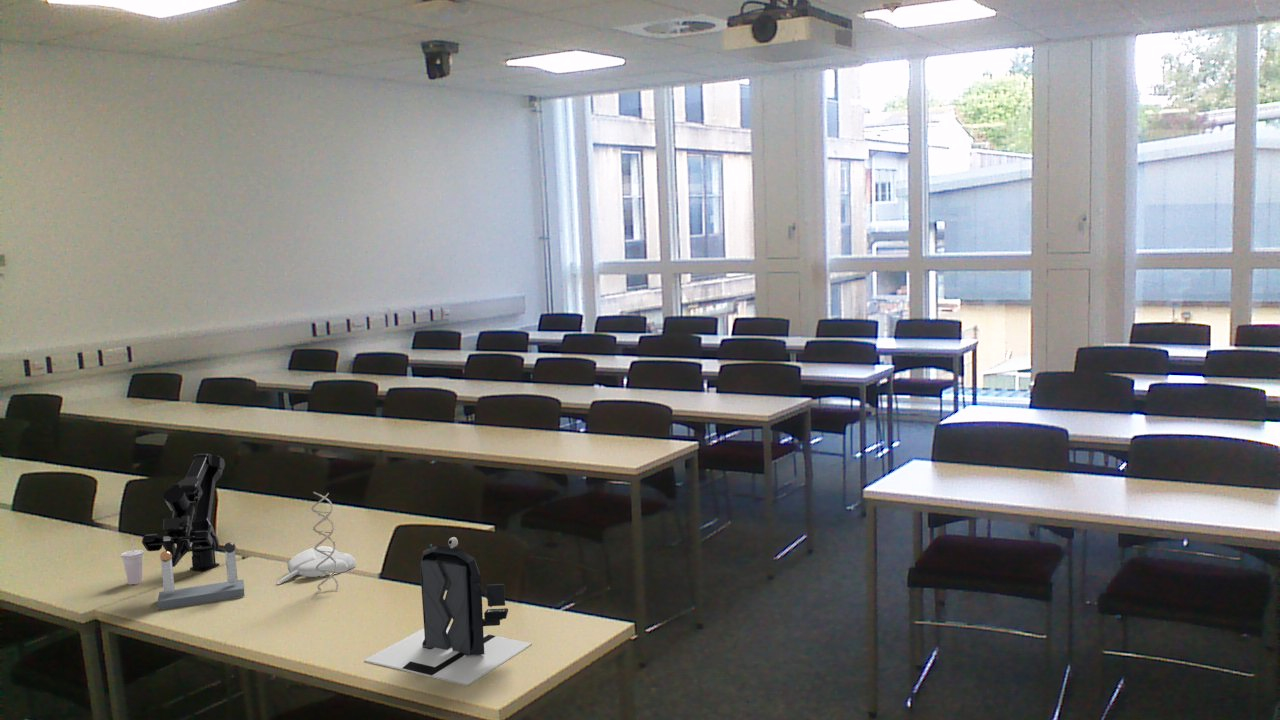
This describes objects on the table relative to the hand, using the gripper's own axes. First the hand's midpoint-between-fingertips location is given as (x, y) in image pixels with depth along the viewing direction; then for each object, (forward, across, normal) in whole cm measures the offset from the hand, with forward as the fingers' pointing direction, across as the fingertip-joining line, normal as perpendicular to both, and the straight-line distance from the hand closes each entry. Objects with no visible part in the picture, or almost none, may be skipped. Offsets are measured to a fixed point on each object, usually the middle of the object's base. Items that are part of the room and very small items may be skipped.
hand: (172, 566), depth 286 cm
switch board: (+8, +8, +5) cm, 13 cm away
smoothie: (-6, -18, +20) cm, 27 cm away
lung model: (-3, +36, +17) cm, 40 cm away
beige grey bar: (+5, +16, +5) cm, 18 cm away
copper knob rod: (+8, 0, +2) cm, 9 cm away
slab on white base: (+49, +83, -34) cm, 102 cm away
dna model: (+10, +45, +4) cm, 46 cm away
